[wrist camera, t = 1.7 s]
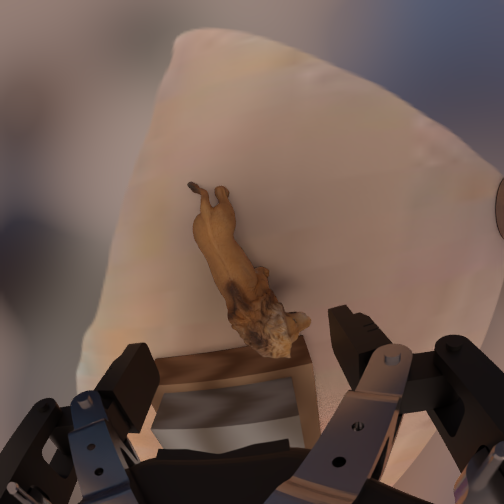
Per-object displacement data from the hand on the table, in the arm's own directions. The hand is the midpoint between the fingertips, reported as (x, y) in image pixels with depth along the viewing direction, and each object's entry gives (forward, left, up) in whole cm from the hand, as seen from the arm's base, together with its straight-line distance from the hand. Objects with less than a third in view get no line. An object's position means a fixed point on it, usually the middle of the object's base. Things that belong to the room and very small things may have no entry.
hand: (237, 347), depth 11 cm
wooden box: (+4, +18, -15) cm, 24 cm away
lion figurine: (0, -1, -15) cm, 15 cm away
